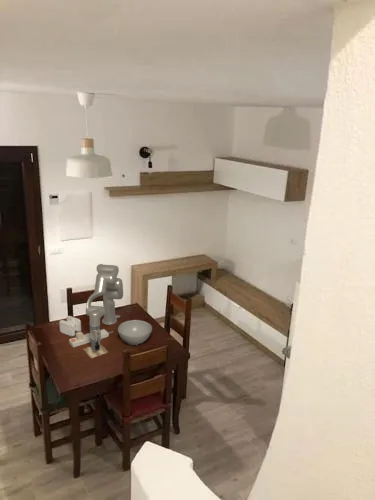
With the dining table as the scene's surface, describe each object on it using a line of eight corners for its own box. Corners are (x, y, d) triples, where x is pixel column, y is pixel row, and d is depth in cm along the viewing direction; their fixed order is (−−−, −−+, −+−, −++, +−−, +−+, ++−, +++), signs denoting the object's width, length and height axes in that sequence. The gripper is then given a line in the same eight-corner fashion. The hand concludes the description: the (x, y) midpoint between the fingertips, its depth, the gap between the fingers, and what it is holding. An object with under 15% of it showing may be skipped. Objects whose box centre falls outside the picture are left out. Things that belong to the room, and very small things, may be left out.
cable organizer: (82, 332, 335) (81, 319, 331) (73, 338, 326) (72, 325, 322) (68, 327, 341) (67, 315, 338) (59, 332, 332) (58, 320, 329)
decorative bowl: (127, 330, 341) (127, 317, 338) (156, 336, 334) (157, 323, 330) (111, 346, 317) (111, 332, 313) (143, 353, 310) (143, 339, 306)
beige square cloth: (100, 344, 319) (100, 343, 319) (108, 352, 309) (108, 351, 308) (83, 349, 311) (83, 348, 311) (91, 358, 300) (90, 357, 300)
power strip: (110, 330, 340) (110, 321, 338) (115, 334, 334) (115, 325, 332) (69, 342, 319) (68, 333, 317) (73, 347, 313) (72, 338, 311)
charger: (97, 346, 313) (96, 338, 310) (100, 349, 309) (99, 341, 306) (91, 348, 310) (90, 340, 307) (93, 351, 306) (93, 343, 304)
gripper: (104, 330, 299) (105, 351, 305) (94, 320, 312) (95, 341, 317) (95, 332, 295) (95, 354, 300) (85, 323, 307) (86, 344, 313)
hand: (95, 347), depth 309 cm, fingers closed on charger, 4 cm apart
